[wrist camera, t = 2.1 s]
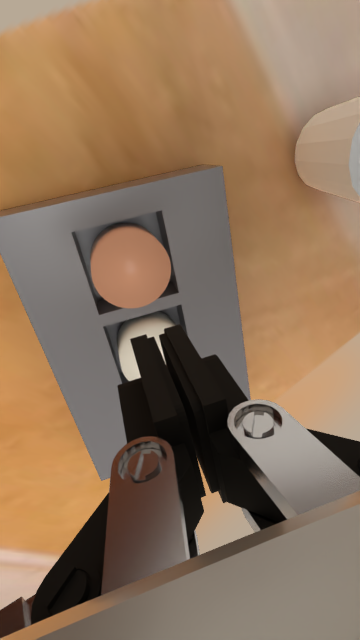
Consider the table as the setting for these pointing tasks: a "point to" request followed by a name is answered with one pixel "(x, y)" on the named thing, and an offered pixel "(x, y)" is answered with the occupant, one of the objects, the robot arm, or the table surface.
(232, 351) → the console
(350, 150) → the light grey cup
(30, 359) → the table surface
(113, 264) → the terracotta button
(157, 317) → the cream button
